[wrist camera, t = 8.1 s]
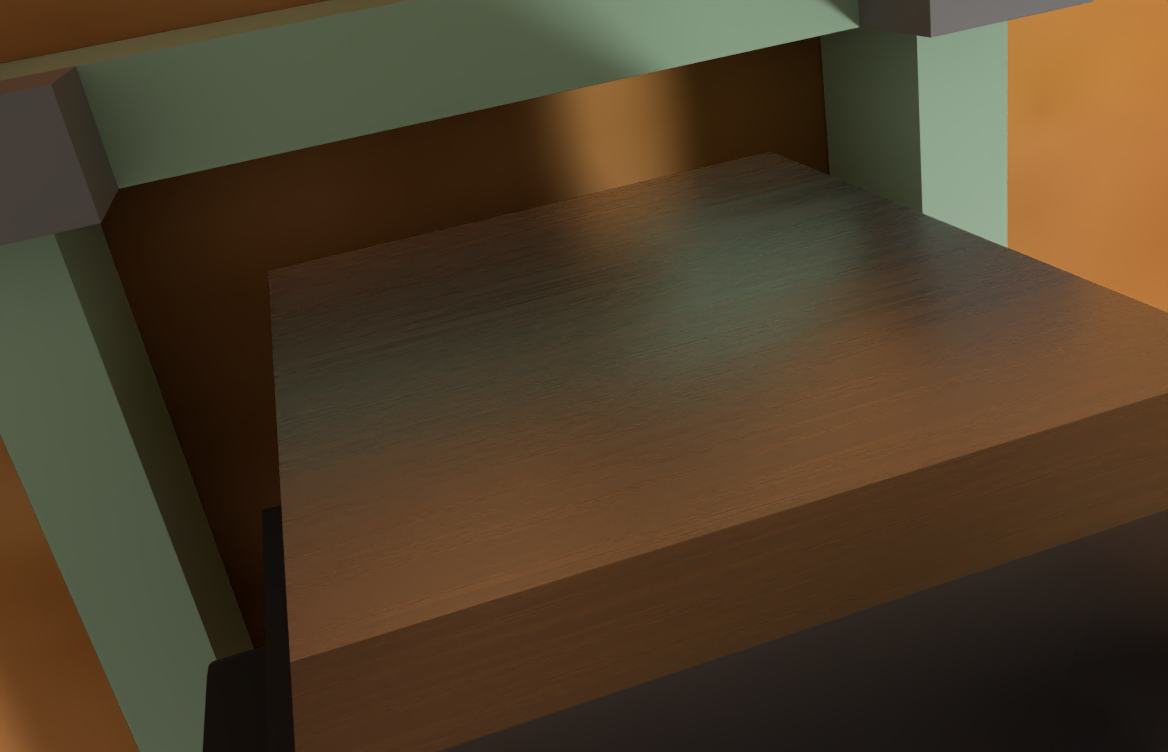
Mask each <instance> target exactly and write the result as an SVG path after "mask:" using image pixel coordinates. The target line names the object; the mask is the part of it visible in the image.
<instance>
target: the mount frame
mask: <svg viewBox="0 0 1168 752" xmlns="http://www.w3.org/2000/svg"><path fill="white" fill-rule="evenodd" d="M1089 2H1093V0H327V1H322V2H317V3H312V4H307V5H302V6H296V7H291V8H286V9H281V10H276V11H271V12H265V13H260V14H255V15H250V16H245V17H239V18H234V19H229V20H224V21H219V22H214V23H208V24H203V25H198V26H193V27H188V28H182V29H177V30H172V31H167V32H162V33H157V34H151V35H146V36H141V37H136V38H131V39H126V40H120V41H115V42H110V43H105V44H100V45H94V46H89V47H84V48H79V49H74V50H69V51H63V52H58V53H53V54H48V55H43V56H37V57H32V58H27V59H22V60H17V61H12V62H6V63H1V64H0V435H1V437H2V440H3V442H4V444H5V447H6V449H7V451H8V453H9V456H10V458H11V460H12V462H13V465H14V467H15V469H16V472H17V474H18V476H19V478H20V481H21V483H22V485H23V488H24V490H25V492H26V494H27V497H28V499H29V501H30V503H31V506H32V508H33V510H34V513H35V515H36V517H37V519H38V522H39V524H40V526H41V529H42V531H43V533H44V535H45V538H46V540H47V542H48V544H49V547H50V549H51V551H52V554H53V556H54V558H55V560H56V563H57V565H58V567H59V570H60V572H61V574H62V576H63V579H64V581H65V583H66V585H67V588H68V590H69V592H70V595H71V597H72V599H73V601H74V604H75V606H76V608H77V611H78V613H79V615H80V617H81V620H82V622H83V624H84V626H85V629H86V631H87V633H88V636H89V638H90V640H91V642H92V645H93V647H94V649H95V651H96V654H97V656H98V658H99V661H100V663H101V665H102V667H103V670H104V672H105V674H106V677H107V679H108V681H109V683H110V686H111V688H112V690H113V692H114V695H115V697H116V699H117V702H118V704H119V706H120V708H121V711H122V713H123V715H124V718H125V720H126V722H127V724H128V727H129V729H130V731H131V733H132V736H133V738H134V740H135V743H136V745H137V747H138V749H139V752H203V735H204V717H205V700H206V682H207V672H208V666H209V664H210V663H211V662H212V661H215V660H218V659H222V658H225V657H228V656H231V655H235V654H238V653H241V652H245V651H248V650H251V649H254V647H253V644H252V642H251V639H250V636H249V633H248V630H247V628H246V625H245V622H244V619H243V617H242V614H241V611H240V608H239V606H238V603H237V600H236V597H235V595H234V592H233V589H232V586H231V583H230V581H229V578H228V575H227V572H226V570H225V567H224V564H223V561H222V559H221V556H220V553H219V550H218V548H217V545H216V542H215V539H214V537H213V534H212V531H211V528H210V525H209V523H208V520H207V517H206V514H205V512H204V509H203V506H202V503H201V501H200V498H199V495H198V492H197V490H196V487H195V484H194V481H193V479H192V476H191V473H190V470H189V467H188V465H187V462H186V459H185V456H184V454H183V451H182V448H181V445H180V443H179V440H178V437H177V434H176V432H175V429H174V426H173V423H172V420H171V418H170V415H169V412H168V409H167V407H166V404H165V401H164V398H163V396H162V393H161V390H160V387H159V385H158V382H157V379H156V376H155V374H154V371H153V368H152V365H151V362H150V360H149V357H148V354H147V351H146V349H145V346H144V343H143V340H142V338H141V335H140V332H139V329H138V327H137V324H136V321H135V318H134V315H133V313H132V310H131V307H130V304H129V302H128V299H127V296H126V293H125V291H124V288H123V285H122V282H121V280H120V277H119V274H118V271H117V269H116V266H115V263H114V260H113V257H112V255H111V252H110V249H109V246H108V244H107V241H106V238H105V235H104V233H103V230H102V227H101V224H100V223H101V222H102V220H103V218H104V216H105V214H106V213H107V211H108V209H109V207H110V205H111V203H112V201H113V199H114V197H115V195H116V193H117V191H118V189H120V188H125V187H129V186H134V185H138V184H143V183H147V182H152V181H157V180H161V179H166V178H170V177H175V176H180V175H184V174H189V173H193V172H198V171H202V170H207V169H212V168H216V167H221V166H225V165H230V164H234V163H239V162H244V161H248V160H253V159H257V158H262V157H267V156H271V155H276V154H280V153H285V152H289V151H294V150H299V149H303V148H308V147H312V146H317V145H322V144H326V143H331V142H335V141H340V140H344V139H349V138H354V137H358V136H363V135H367V134H372V133H377V132H381V131H386V130H390V129H395V128H399V127H404V126H409V125H413V124H418V123H422V122H427V121H432V120H436V119H441V118H445V117H450V116H454V115H459V114H464V113H468V112H473V111H477V110H482V109H487V108H491V107H496V106H500V105H505V104H509V103H514V102H519V101H523V100H528V99H532V98H537V97H541V96H546V95H551V94H555V93H560V92H564V91H569V90H574V89H578V88H583V87H587V86H592V85H596V84H601V83H606V82H610V81H615V80H619V79H624V78H629V77H633V76H638V75H642V74H647V73H651V72H656V71H661V70H665V69H670V68H674V67H679V66H684V65H688V64H693V63H697V62H702V61H706V60H711V59H716V58H720V57H725V56H729V55H734V54H739V53H743V52H748V51H752V50H757V49H761V48H766V47H771V46H775V45H780V44H784V43H789V42H794V41H798V40H803V39H807V38H812V37H816V36H820V40H821V55H822V69H823V84H824V99H825V113H826V128H827V142H828V157H829V172H830V176H832V177H834V178H837V179H839V180H842V181H844V182H847V183H849V184H852V185H854V186H856V187H859V188H861V189H864V190H866V191H869V192H871V193H874V194H876V195H879V196H881V197H884V198H886V199H888V200H891V201H893V202H896V203H898V204H901V205H903V206H906V207H908V208H911V209H913V210H916V211H918V212H920V213H923V214H925V215H928V216H930V217H933V218H935V219H938V220H940V221H943V222H945V223H948V224H950V225H952V226H955V227H957V228H960V229H962V230H965V231H967V232H970V233H972V234H975V235H977V236H980V237H982V238H984V239H987V240H989V241H992V242H994V243H997V244H999V245H1002V246H1004V247H1007V78H1008V20H1013V19H1017V18H1021V17H1026V16H1030V15H1035V14H1039V13H1044V12H1048V11H1053V10H1057V9H1062V8H1066V7H1071V6H1075V5H1080V4H1084V3H1089Z"/></svg>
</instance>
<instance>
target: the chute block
mask: <svg viewBox="0 0 1168 752" xmlns="http://www.w3.org/2000/svg"><path fill="white" fill-rule="evenodd" d="M268 277H269V295H270V313H271V330H272V348H273V366H274V383H275V401H276V419H277V437H278V454H279V472H280V490H281V507H282V525H283V543H284V560H285V578H286V596H287V613H288V631H289V649H290V666H291V684H292V702H293V720H294V737H295V752H1168V313H1167V312H1164V311H1162V310H1159V309H1157V308H1154V307H1152V306H1149V305H1147V304H1144V303H1142V302H1140V301H1137V300H1135V299H1132V298H1130V297H1127V296H1125V295H1122V294H1120V293H1117V292H1115V291H1112V290H1110V289H1108V288H1105V287H1103V286H1100V285H1098V284H1095V283H1093V282H1090V281H1088V280H1085V279H1083V278H1080V277H1078V276H1076V275H1073V274H1071V273H1068V272H1066V271H1063V270H1061V269H1058V268H1056V267H1053V266H1051V265H1048V264H1046V263H1044V262H1041V261H1039V260H1036V259H1034V258H1031V257H1029V256H1026V255H1024V254H1021V253H1019V252H1016V251H1014V250H1012V249H1009V248H1007V247H1004V246H1002V245H999V244H997V243H994V242H992V241H989V240H987V239H984V238H982V237H980V236H977V235H975V234H972V233H970V232H967V231H965V230H962V229H960V228H957V227H955V226H952V225H950V224H948V223H945V222H943V221H940V220H938V219H935V218H933V217H930V216H928V215H925V214H923V213H920V212H918V211H916V210H913V209H911V208H908V207H906V206H903V205H901V204H898V203H896V202H893V201H891V200H888V199H886V198H884V197H881V196H879V195H876V194H874V193H871V192H869V191H866V190H864V189H861V188H859V187H856V186H854V185H852V184H849V183H847V182H844V181H842V180H839V179H837V178H834V177H832V176H829V175H827V174H824V173H822V172H820V171H817V170H815V169H812V168H810V167H807V166H805V165H802V164H800V163H797V162H795V161H792V160H790V159H788V158H785V157H783V156H780V155H778V154H775V153H773V152H766V153H761V154H757V155H753V156H749V157H745V158H740V159H736V160H732V161H728V162H724V163H719V164H715V165H711V166H707V167H703V168H698V169H694V170H690V171H686V172H682V173H677V174H673V175H669V176H665V177H661V178H656V179H652V180H648V181H644V182H640V183H635V184H631V185H627V186H623V187H619V188H614V189H610V190H606V191H602V192H598V193H593V194H589V195H585V196H581V197H576V198H572V199H568V200H564V201H560V202H555V203H551V204H547V205H543V206H539V207H534V208H530V209H526V210H522V211H518V212H513V213H509V214H505V215H501V216H497V217H492V218H488V219H484V220H480V221H476V222H471V223H467V224H463V225H459V226H455V227H450V228H446V229H442V230H438V231H434V232H429V233H425V234H421V235H417V236H413V237H408V238H404V239H400V240H396V241H392V242H387V243H383V244H379V245H375V246H371V247H366V248H362V249H358V250H354V251H350V252H345V253H341V254H337V255H333V256H329V257H324V258H320V259H316V260H312V261H308V262H303V263H299V264H295V265H291V266H287V267H282V268H278V269H274V270H270V271H268Z"/></svg>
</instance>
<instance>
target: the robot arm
mask: <svg viewBox="0 0 1168 752" xmlns="http://www.w3.org/2000/svg"><path fill="white" fill-rule="evenodd" d="M262 521H263V564H264V607H265V645H264V646H261V647H258V648H255V649H251V650H248V651H245V652H241V653H238V654H235V655H231V656H228V657H225V658H222V659H218V660H215V661H212V662H211V663H210V664H209V666H208V672H207V682H206V700H205V717H204V735H203V752H295V737H294V720H293V702H292V684H291V666H290V649H289V631H288V613H287V596H286V578H285V560H284V543H283V525H282V507H281V505H280V506H276V507H273V508H269V509H266V510H263V514H262Z"/></svg>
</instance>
